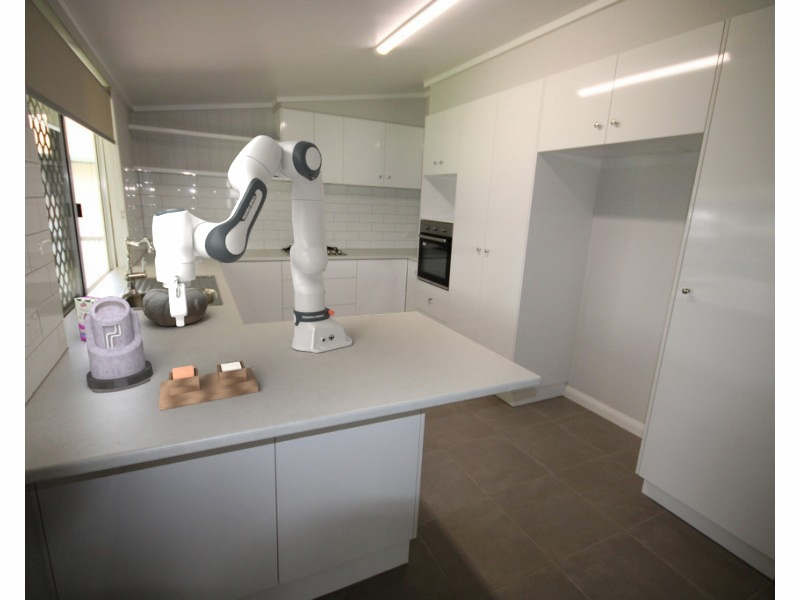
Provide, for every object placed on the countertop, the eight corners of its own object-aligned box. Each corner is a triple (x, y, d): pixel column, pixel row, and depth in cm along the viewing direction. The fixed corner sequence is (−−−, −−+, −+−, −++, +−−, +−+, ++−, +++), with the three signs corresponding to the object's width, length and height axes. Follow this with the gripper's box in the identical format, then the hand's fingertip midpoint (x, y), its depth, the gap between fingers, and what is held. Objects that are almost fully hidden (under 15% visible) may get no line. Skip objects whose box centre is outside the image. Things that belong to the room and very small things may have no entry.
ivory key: (240, 371, 118) (239, 361, 118) (242, 377, 114) (241, 367, 113) (221, 374, 116) (220, 364, 115) (223, 380, 112) (222, 370, 111)
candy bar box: (113, 340, 151) (107, 298, 147) (99, 344, 146) (92, 301, 142) (94, 336, 155) (87, 295, 151) (80, 340, 150) (72, 298, 147)
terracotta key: (194, 375, 112) (193, 365, 112) (194, 382, 108) (193, 371, 107) (174, 378, 110) (172, 368, 109) (173, 385, 106) (172, 375, 105)
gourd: (130, 316, 173) (134, 277, 170) (189, 314, 193) (193, 279, 190) (155, 334, 158) (160, 292, 155) (216, 330, 178) (221, 292, 176)
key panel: (250, 373, 124) (249, 355, 123) (258, 391, 112) (257, 371, 111) (161, 388, 113) (159, 368, 112) (159, 410, 101) (156, 388, 100)
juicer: (155, 384, 116) (144, 302, 110) (86, 398, 107) (70, 310, 101) (147, 352, 140) (138, 284, 134) (90, 362, 131) (77, 289, 125)
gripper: (191, 279, 95) (195, 334, 98) (188, 267, 112) (192, 314, 116) (160, 280, 92) (165, 337, 95) (163, 267, 109) (167, 316, 113)
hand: (180, 324), depth 105 cm, fingers closed
